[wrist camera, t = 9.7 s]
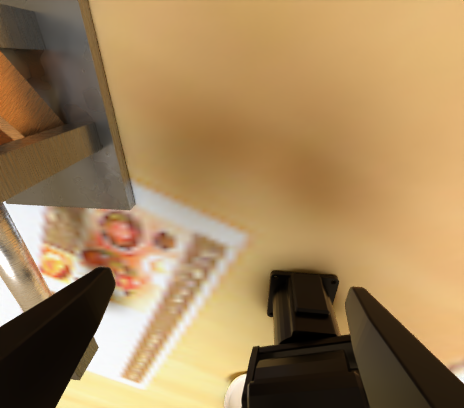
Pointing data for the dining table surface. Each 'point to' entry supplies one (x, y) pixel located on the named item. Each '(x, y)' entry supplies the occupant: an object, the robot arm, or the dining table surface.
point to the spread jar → (235, 393)
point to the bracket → (62, 111)
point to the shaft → (27, 277)
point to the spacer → (21, 106)
